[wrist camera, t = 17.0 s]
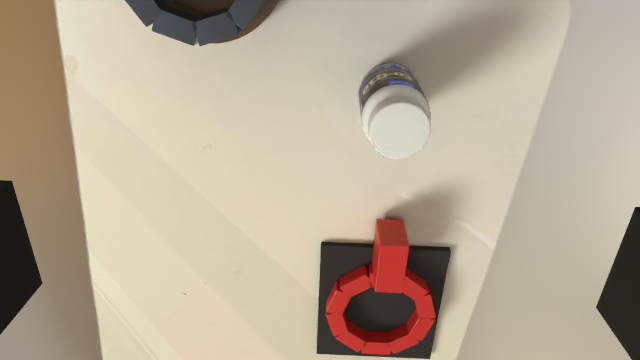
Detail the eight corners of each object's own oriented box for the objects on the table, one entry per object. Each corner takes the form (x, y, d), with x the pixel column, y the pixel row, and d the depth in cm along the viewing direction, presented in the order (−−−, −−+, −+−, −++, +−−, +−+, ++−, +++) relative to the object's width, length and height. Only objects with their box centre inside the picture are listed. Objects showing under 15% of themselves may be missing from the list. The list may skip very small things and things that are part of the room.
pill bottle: (408, 53, 37) (427, 85, 30) (424, 108, 39) (445, 151, 32) (350, 74, 38) (353, 110, 30) (368, 127, 40) (376, 173, 32)
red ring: (425, 344, 50) (432, 376, 47) (323, 339, 50) (323, 371, 47) (449, 222, 43) (459, 248, 40) (331, 216, 43) (330, 242, 40)
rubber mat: (449, 247, 45) (450, 251, 45) (428, 354, 52) (429, 359, 51) (321, 241, 45) (321, 245, 45) (316, 349, 52) (316, 353, 51)
